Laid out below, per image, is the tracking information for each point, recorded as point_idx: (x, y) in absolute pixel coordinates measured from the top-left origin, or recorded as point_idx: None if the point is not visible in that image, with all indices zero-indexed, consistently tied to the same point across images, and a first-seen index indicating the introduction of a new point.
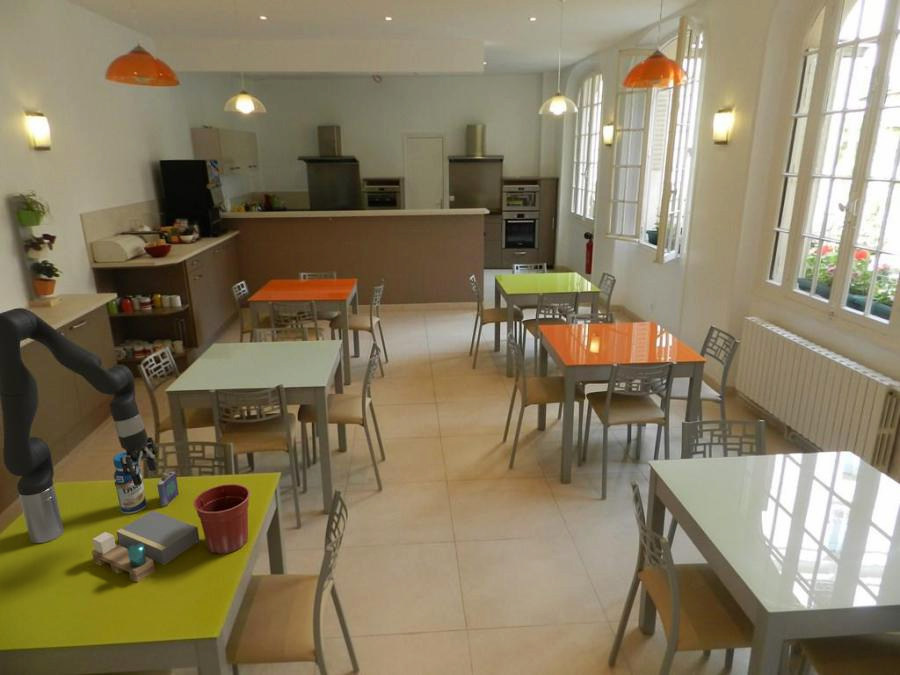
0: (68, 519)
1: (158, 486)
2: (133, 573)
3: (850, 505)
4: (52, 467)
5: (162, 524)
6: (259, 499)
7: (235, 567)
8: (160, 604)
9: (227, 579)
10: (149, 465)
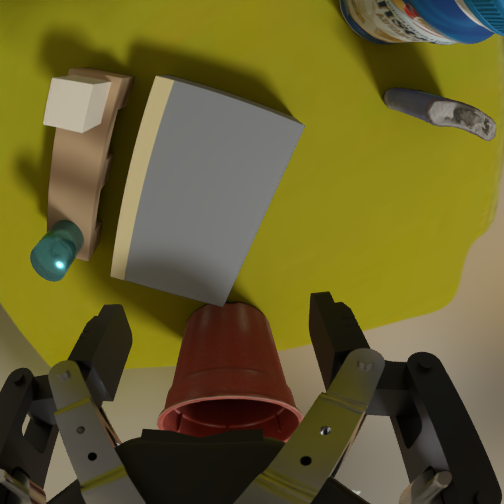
0: None
1: (424, 106)
2: None
3: None
4: None
5: (220, 209)
6: (387, 317)
7: (161, 362)
8: (44, 300)
9: (131, 361)
10: (321, 329)
